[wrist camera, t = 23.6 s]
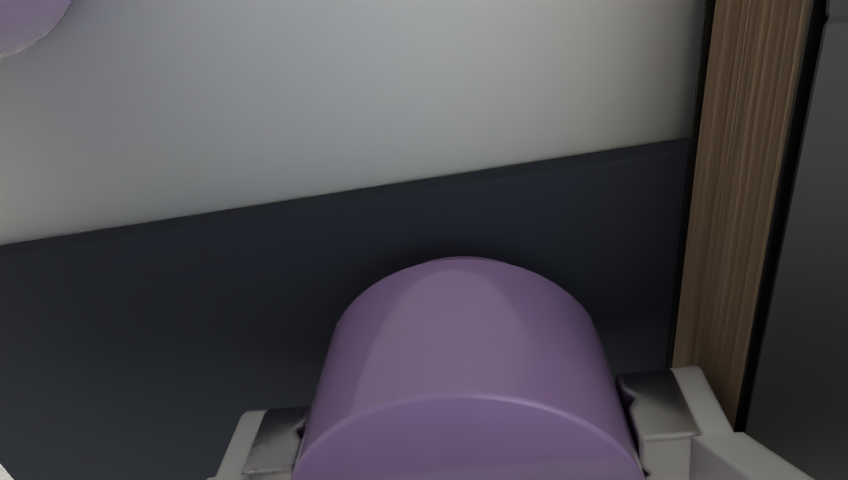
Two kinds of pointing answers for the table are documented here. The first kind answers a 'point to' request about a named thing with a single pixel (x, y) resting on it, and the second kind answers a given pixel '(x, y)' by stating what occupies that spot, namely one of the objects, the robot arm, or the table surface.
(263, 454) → the robot arm
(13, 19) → the purple short cylinder
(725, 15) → the file folder
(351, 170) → the table surface
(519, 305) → the lilac cylinder puck
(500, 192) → the mat
